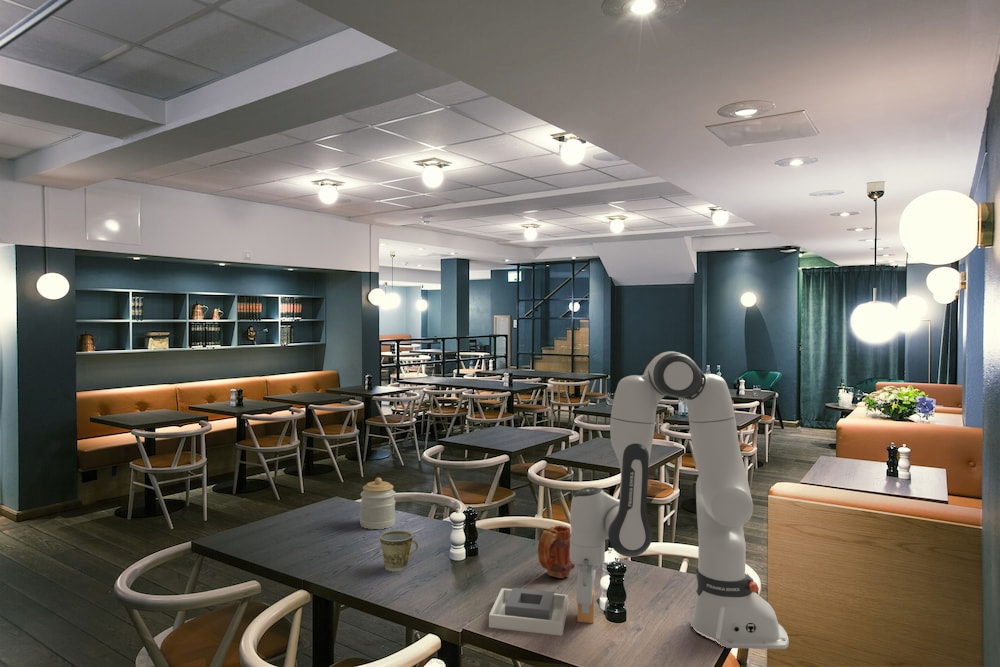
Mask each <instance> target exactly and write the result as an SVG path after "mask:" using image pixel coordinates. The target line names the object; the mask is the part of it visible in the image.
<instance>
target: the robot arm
mask: <svg viewBox="0 0 1000 667" xmlns="http://www.w3.org/2000/svg"><path fill="white" fill-rule="evenodd" d="M664 397H670V398H671V397H672V398H676V399H682V400H683V401H684V402H685V405H686V409H687V416H688V424H689V432H690V437H691V444H692V451H693V452H692V453H693V455H694V459H695V464H696V468H697V471H698V472H697V473H698V476H697V480H696V481H695V482H696V485H695V494H696V495H695V496H696V498H695V499H696V500H695V501H696V504H695V505H696V519H697V533H698V534H697V535H698V557H697V558H698V561H697V563H698V566H697V568H696V570H695V571H696V572H695V591H696V598H695V603H694V604H695V605H694V609H693V613H692V617H691V620H690V622H691V624H692V626H693V627H694V628H695V629H696V630H697V631H699V632H701V633H703V634H705V635H707V636H709V637H712V638H714V639H716V640H717V641H718V642H720V644H722V645H724V646H725V647H726V648H725V649H751V650H752V649H754V650H755V649H757V650H762V649H763V650H786V649H787V648H788V646H789V636H788V633H787V631H786V630H785V628H784V627H783V626H782V624H780V623H779V622H778V618H777V614H776V611H775V610H774V609H773V607H772V605H771V604H770V603H769V602H768V601H766V600H765V599H764V598H762V597H761V596H760V595H759V594H758V592H759V590H760V588H759V586H758V584H757V582H755V580H754V579H753V578H752V577H751V575H750V574H748V573H746V549H747V548H746V547H747V546H746V543H747V542H746V540H745V534H744V533H745V532H744V525H745V524H747V523H748V522H749V521H750V519H751V518H752V516H753V514H754V513H753V512H754V502H753V499H752V494H751V490H750V489H751V488H750V485H749V481H748V480H749V479H748V474H747V470H746V467H745V463H744V460H743V455H742V451H741V448H740V441H739V434H738V428H737V420H736V413H735V408H734V404H733V399H732V396H731V392H730V390H729V387H728V384H727V382H726V380H725V379H724V378H723V377H722V376H720V375H719V374H718V375H717V374H715V373H703V371H702V370H701V368H700V367H699V366H698V365H697V363H696V362H695V361H694V360H693V359H692V358H691V357H689V356H688V355H687V354H684V353H681V352H677V351H672V350H671V351H664V352H659V353H657V354H655V355H654V356H652V358H651V359H650V360H649V361H648V362H647V363H646V365H645V367H644V368H643V369H642V371H641V372H640V374H639V375H637V374H634V375H632V374H631V375H628V376H625V377H623V378H620V380H619V381H618V383H617V387H616V390H615V392H614V396H613V401H612V407H611V412H610V422H609V423H610V424H609V426H610V427H609V430H610V431H609V432H610V442H611V443H610V444H611V446H612V449H613V451H614V453H615V456H616V459H617V462H618V465H619V470H620V487H619V498H617V497H614V496H612V495H610V494H608V493H607V492H605V491H604V490H603V489H602V488H600V487H593V486H592V487H589V486H587V487H584V488H581V489H579V490H577V491H576V492H574V494H573V496H572V499H571V504H570V512H569V513H570V514H569V516H570V517H569V525H570V561H571V562H572V563H573V564H574V566H575V567H574V568H576V569H578V570H577V576H576V603H577V605H578V604H581V605H582V612H583V613H589V605H591V604H592V598H593V589H595V578H596V573H597V570H598V569H599V568H600V566H601V565H602V564H603V563H604V562H605V558H606V555H605V554H606V540H609V544H610V546H611V548H612V549H613V550H614V551H615V552H616V553H617V554H619V555H621V556H623V557H628V558H629V557H631V558H632V557H637V556H638V557H639V556H640V555H642V554H643V553H645V552H646V550H648V548H649V547H650V545H651V543H652V539H653V534H652V533H653V532H652V527H651V526H650V523H649V520H648V515H647V503H648V501H647V499H648V485H649V484H648V483H649V481H648V480H649V465H650V461H651V460H650V459H651V453H652V447H653V442H654V435H655V426H656V418H657V417H656V416H657V408H658V405H659V403H660V401H661V400H662V399H663V398H664Z"/></svg>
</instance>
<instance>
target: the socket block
mask: <svg viewBox="0 0 1000 667" xmlns="http://www.w3.org/2000/svg"><path fill="white" fill-rule="evenodd" d="M511 589H512V591H511V593H510V596H509V598H508V600H507V603H506V605H505V615H508V616H517V617H527V618H536V619H545V620H551V619H552V615H553V611H554V594H555V591H549V590H538V589H529V588H520V587H519V588H518V587H512V588H511Z"/></svg>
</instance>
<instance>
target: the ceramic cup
mask: <svg viewBox="0 0 1000 667" xmlns="http://www.w3.org/2000/svg"><path fill="white" fill-rule="evenodd" d="M379 540H380V541H379V542H380V547H381V550H382V556H383V564H384V568H385V571H387V570H388V572H391V571H392V572H393V573H394V572H395V573H396V572H403V571H405V570H407V567H408V561H409V557H410V556H411V555H412V554H413V553H415V552H416V551H417V550H418V548H419V545H418V543H417V541H416V540H413V533H412V532H410V531H408V530H400V529H397V530H396V529H395V530H388V531H385V532H383V533H381V534H380V535H379ZM412 544H414V545H415V549H414V550H413V551H411V549H412V548H411V547H412ZM410 551H411V552H410ZM392 572H391V573H392Z"/></svg>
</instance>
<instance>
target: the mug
mask: <svg viewBox="0 0 1000 667" xmlns="http://www.w3.org/2000/svg"><path fill="white" fill-rule="evenodd" d="M548 530H549V531H547V530H544V531H542V533H541V536H540V538H539V541H538V547H537V554H538V560H539V563H540V565H541V567H542V568H543V569H546V572H547V575H548V576H550V577H552V578H555V577H556V579H565V578H564V577H567V576H568V577H569V576H570V571H572V570H573V569H575V568H576V567H575V565H574V563H573V562H572V561H571V560H570V536H571V527H568V526H565V525H555V526H551V527H550V528H549V529H548ZM568 577H567V578H568Z"/></svg>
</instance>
